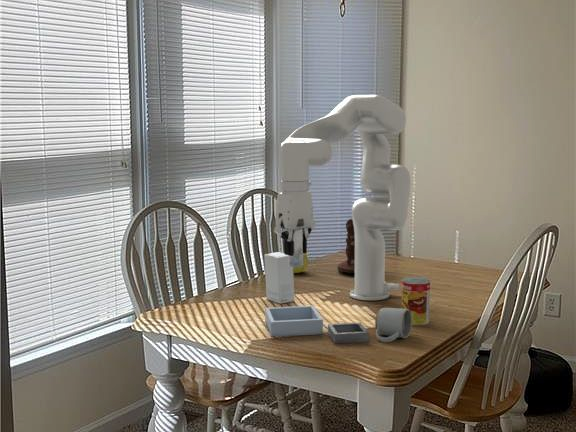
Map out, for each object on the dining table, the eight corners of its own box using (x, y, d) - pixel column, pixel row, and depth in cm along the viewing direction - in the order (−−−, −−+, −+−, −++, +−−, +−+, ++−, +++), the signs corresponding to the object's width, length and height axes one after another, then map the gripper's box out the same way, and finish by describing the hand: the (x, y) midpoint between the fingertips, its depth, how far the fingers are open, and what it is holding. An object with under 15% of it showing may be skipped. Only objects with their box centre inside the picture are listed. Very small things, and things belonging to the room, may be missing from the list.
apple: (287, 270, 278) (287, 243, 277) (308, 270, 277) (308, 244, 275) (284, 275, 270) (284, 247, 269) (306, 275, 269) (306, 248, 268)
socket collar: (360, 331, 205) (360, 322, 204) (368, 341, 196) (368, 332, 195) (327, 333, 203) (327, 324, 203) (334, 343, 195) (334, 334, 194)
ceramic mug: (384, 329, 206) (384, 302, 205) (412, 333, 202) (412, 306, 201) (368, 341, 197) (368, 312, 196) (398, 345, 193) (398, 317, 192)
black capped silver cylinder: (297, 262, 209) (296, 216, 207) (308, 265, 205) (308, 218, 203) (282, 264, 206) (282, 217, 204) (294, 267, 202) (294, 220, 200)
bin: (313, 319, 216) (313, 305, 216) (322, 333, 203) (322, 319, 202) (265, 321, 214) (265, 307, 214) (271, 336, 201) (271, 322, 200)
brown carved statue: (356, 266, 284) (356, 213, 281) (386, 272, 273) (387, 218, 270) (329, 272, 274) (328, 218, 271) (359, 279, 263) (359, 222, 260)
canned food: (399, 317, 217) (400, 276, 216) (427, 317, 217) (428, 276, 215) (403, 325, 210) (403, 283, 208) (431, 325, 209) (432, 283, 207)
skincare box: (295, 301, 235) (294, 255, 233) (278, 304, 232) (278, 257, 229) (280, 296, 242) (279, 250, 240) (264, 298, 239) (263, 253, 236)
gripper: (309, 183, 210) (309, 247, 213) (261, 188, 200) (262, 256, 203) (327, 185, 204) (327, 251, 207) (279, 191, 194) (280, 260, 197)
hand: (295, 253), depth 205 cm, fingers closed on black capped silver cylinder, 4 cm apart
